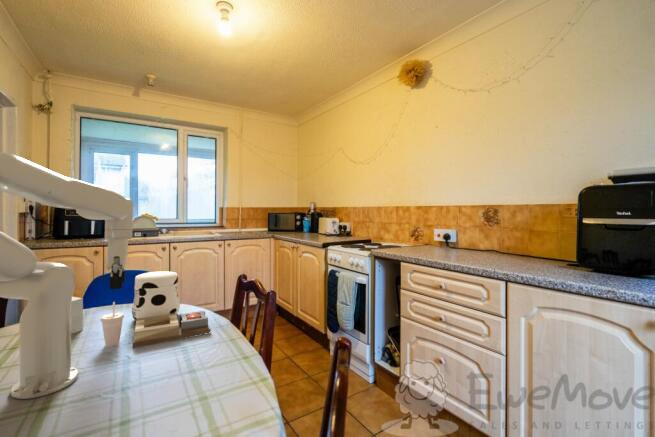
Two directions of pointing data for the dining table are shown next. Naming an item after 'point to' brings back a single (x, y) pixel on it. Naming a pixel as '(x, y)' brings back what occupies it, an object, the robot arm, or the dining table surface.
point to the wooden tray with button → (168, 328)
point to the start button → (193, 316)
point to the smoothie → (112, 327)
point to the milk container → (155, 294)
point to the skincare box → (76, 314)
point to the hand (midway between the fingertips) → (117, 285)
